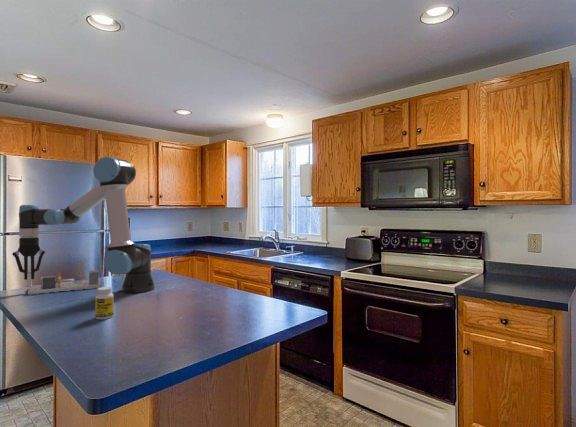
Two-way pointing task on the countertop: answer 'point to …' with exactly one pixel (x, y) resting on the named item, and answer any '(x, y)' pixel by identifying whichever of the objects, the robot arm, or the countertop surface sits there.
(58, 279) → the orange peg piece
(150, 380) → the countertop surface
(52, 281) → the grey block with rod
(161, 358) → the countertop surface
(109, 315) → the pill bottle
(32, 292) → the gauge board
